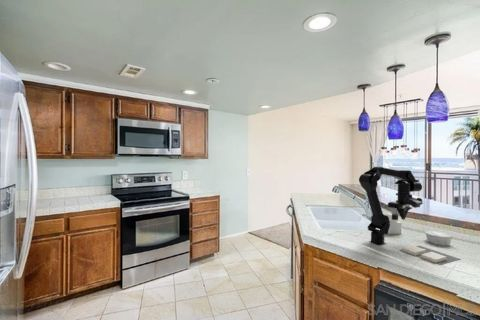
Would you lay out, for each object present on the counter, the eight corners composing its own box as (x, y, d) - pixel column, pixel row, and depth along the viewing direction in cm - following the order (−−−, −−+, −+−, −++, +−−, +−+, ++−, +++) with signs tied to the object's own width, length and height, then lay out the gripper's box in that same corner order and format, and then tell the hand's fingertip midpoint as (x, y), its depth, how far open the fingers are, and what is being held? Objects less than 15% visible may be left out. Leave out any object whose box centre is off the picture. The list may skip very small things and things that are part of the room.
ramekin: (420, 241, 135) (420, 231, 135) (433, 238, 139) (433, 229, 139) (443, 248, 124) (443, 238, 124) (456, 245, 128) (456, 235, 128)
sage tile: (426, 253, 116) (415, 255, 113) (413, 248, 122) (402, 250, 119) (426, 249, 116) (415, 252, 113) (413, 245, 122) (402, 247, 119)
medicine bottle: (395, 230, 153) (395, 212, 153) (401, 234, 146) (401, 214, 145) (383, 230, 154) (383, 211, 153) (389, 234, 146) (389, 214, 146)
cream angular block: (446, 260, 108) (435, 263, 105) (431, 255, 114) (421, 257, 111) (446, 256, 108) (435, 259, 105) (431, 251, 114) (421, 254, 111)
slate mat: (440, 266, 103) (440, 265, 103) (398, 251, 120) (398, 250, 120) (461, 260, 109) (461, 259, 109) (419, 246, 126) (419, 245, 126)
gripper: (407, 195, 124) (407, 225, 124) (429, 193, 131) (429, 221, 131) (387, 192, 134) (386, 219, 135) (408, 190, 141) (408, 216, 142)
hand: (403, 219), depth 135 cm, fingers closed
